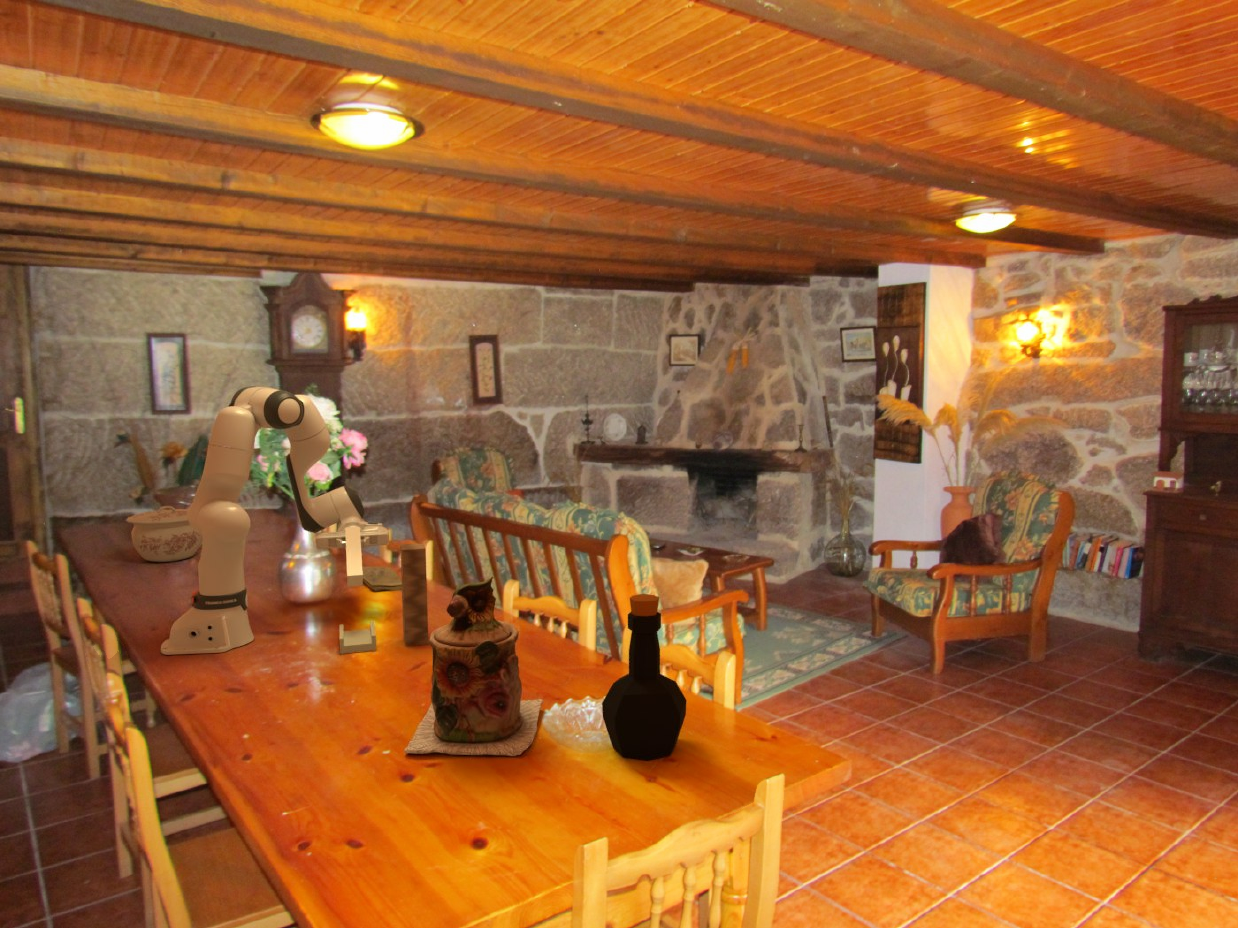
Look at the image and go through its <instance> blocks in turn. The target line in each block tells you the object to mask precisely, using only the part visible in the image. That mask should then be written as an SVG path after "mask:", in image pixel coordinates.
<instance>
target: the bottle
mask: <svg viewBox="0 0 1238 928" xmlns="http://www.w3.org/2000/svg"><path fill="white" fill-rule="evenodd" d="M659 602H660V596H657V595H655V594H649V593H648V594H647V593H639V594H635V595H634V594H633V595H632V596H630V597H629V603H630V604H629V606H630V611H629V613H628V614H627V629H628V630H629V631H631V634H630V641H629V648H628V673H627V674H625V675H624V676H621V677H619V678H618V679H617V680H615V682H613V683H612V684H611V686H610V688H609V690H608V691H607V694H606V695H605V697H604V699H603V700H602V702H601V705H602V706H601V707H602V719H603V722H604V725H605V728H606V731H607V733H608V737H609V739H610V742H611V745H612V748H613V749H614V750H615V752H616V753H618V755H620V756H621V757H622V758H627V759H633V760H639V761H645V762H649V761H653V760H659V759H662V758H666V757H669V756H671V755H672V753H673V752H674V749H675V748H676V746H677V743H678V739H679V736H680V733H681V730H682V728H683V724H684V721H685V717H686V715H687V699H686V697H685V695H684V694H683V692H682V690H681V688H680V687H679V685H678V683H677V681H675V680H674V679H672V678H670V677H667V676H666V675H664V674H661V649H660V648H661V647H660V641H659V635H658V632H659V631H660V629H661V628H662V613H661V612H658V611H659V610H658V609H659Z"/></svg>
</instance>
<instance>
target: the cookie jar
mask: <svg viewBox="0 0 1238 928" xmlns="http://www.w3.org/2000/svg"><path fill="white" fill-rule="evenodd" d="M493 579H494V577H493V576H489V577H488V579H486V580H484V581H478V582H470V583H469V582H468V583H465V584H463V585H460V586H459V587H458V588H456V589H455V591H453V593H452V596H451V600H450V602H449V603H448V606H447V607H446V612H447V614H449V616H450V617H451V618H453V619H452V620H451V621H450V622H448V623H447V624H445V625H442V626H440V627H438V628H436V629H433V631H432V632H431V634H430V637H429V638H428V642H429V644H428V645H429V646H430V647H431V650H432V674H431V678H430V679H431V680H430V681H431V691H430V703H431V704H430V705H429V708H428V710H427V713H426V714H425V715H424V716H423V719H421V721H420V723H419V724H417V725H418V726H417V727H416V731H415V732H414V734H413V738H412V739H410V740H409V742H408V745H407V747H405V748H404V753H405V754H415V755H417V754H418V755H419V754H421V755H423V754H431V753H441V754H449V755H460V756H461V755H463V756H464V755H465V756H508V757H517V756H520V755H521V754H522V753H523V752H525V751H526V750H527V749H528V748H529V747H530V746H531V745H532V744H533V741H534V739H535V737H536V733H537V731H538V725H537V724H538V720H539V714H540V712H541V710H542V706H543V704H544V700H543V699H542V698H537V699H529V700H528V699H524V700H522V699H521V698H522V693H523V686H522V681H521V678H520V667H519V656H518V655H517V653H516V643H517V641H518V640H519V634H520V633H519V632H520V631H519V630H518V627H516V626H515V625H514V624H512V623H510V622H506V621H501V620H499V619H498V620H497V619H496V618H495V613H494V611H495V607H496V600H497V598H496V597H495V596H494V588H493V587H492V582H493Z"/></svg>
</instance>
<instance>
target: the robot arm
mask: <svg viewBox="0 0 1238 928" xmlns="http://www.w3.org/2000/svg"><path fill="white" fill-rule="evenodd" d="M262 428H264V429H276V430H284V432H285V435H286V438H287V439H288V441H289V446H290V449H289V453H288V454H287V455H286V457H285V465H286V470H287V474H288V478H289V483H290V486H291V491H292V493H293V497H294V501H295V505H296V515H297V520H298V523H299V525H300V527H301V528H302V529H303V530H304V531H306V532H308V533H314V534H317V533H318V534H317V535H316V537H315V538H314V539H315V545H316V546H315V547H316V549H318V550H327V549H328V550H329V549H344V550H346V536H345V528H346V527H360V538H361V550H362V549H365V548H369V547H377V546H387V545H389V544H390V534H389V530H388V528H386V527H384V526H383V523H382V522H380V523H379V522H368V521H365V519H364V516H365V511H366V510H365V508H364V506H363V505H364V504H363V502H362V501H361V498H360V496H359V494H358V493H357V492H356V490H355V489H353V488H351V487H350V486H346V485H343V486H340V487H338V488H335V489H333V490H330V491H328V492H326V493H323V494H321V495H319V496H316V497H309V494H308V490H307V486H306V482H305V475H306V474H307V472H309V470H310V469H311V468H312V467H313V466H314V465H315V464H317V463H318V462H319V461H320V460H322V458H323V457H324V456H325V455H327V452H328V451H329V449H330V446H331V434H330V432H329V429H328V426H327V424H326V422H325V420H324V418H323V416H322V415H321V413H320V411H319V410H318V408H317V406H316V405H315V404H314V402H313V400H312V399H311V398H310V397H309V396H307V395H304V394H293V393H292V392H289V391H287V390H279V389H276V388H273V387H269V386H252V385H250V386H245V387H242V388H240V389H239V390H237V391H236V392H235V393H234V395H233V396H232V398H231V401H230V403H229V405H228V406H227V407H224V408H221V410H219V412H218V414H217V416H216V418H215V420H214V423H213V426H212V429H211V433H210V437H209V442H208V446H207V451H206V457H205V463H204V468H203V473H202V476H201V479H200V482H199V484H198V487H197V489H196V492H195V494H194V497H193V500H192V503H191V504H190V505H189V506H188V508H187V509H188V512H187V519H188V522H189V524H190V526H191V527H192V529H193V530H194V531H195V532H196V533H198V534H200V535H202V545H201V550H200V552H201V553H200V558H199V561H198V563H197V572H198V585H199V587H198V588H199V590H195V591H193V593H192V594H191V599H190V601H191V607H190V608H189V609H188V610H186V612H185V613H183V614H182V615H181V616H180V617H179V618H177V619H176V620H175V621H174V623H173V624H172V625H171V628H170V632H169V638H167V639H166V640H164V641H163V642H162V644H161V645H160V653H161V654H162V655H165V656H166V655H169V656H171V655H189V654H190V655H191V654H192V655H193V654H215V653H225V652H227V651H230V650H232V649H235V648H239V647H241V646H245V645H246V644H250V643H251V642H253V640H254V639H255V636H254V634H253V631H252V627H251V624H250V620H249V616H248V610H247V609H248V607H249V603H248V601H249V600H248V597H249V596H248V592H247V588H246V586H245V570H244V569H245V567H244V565H245V564H244V561H245V560H244V559H245V558H244V557H245V550H246V549H245V548H246V544H247V537H248V534H249V532H250V531H251V524H252V523H251V519H250V516H249V514H248V513H247V511H246V510H245V509H244V508H243V507H242V506H241V505H239V504H238V501H239V498H240V496H241V493H242V490H243V489H244V487H245V485H246V484H247V483H248V481H249V477H250V473H251V472H250V471H251V466H252V460H253V455H254V450H255V449H254V448H255V441H256V436H257V434H258V433H259V431H260V429H262ZM336 524H337V528H336V531H327V532H321V531H323V530H325V529H327V528H328V527H331V526H334V525H336ZM319 532H320V533H319Z"/></svg>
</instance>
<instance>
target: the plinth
mask: <svg viewBox="0 0 1238 928" xmlns="http://www.w3.org/2000/svg"><path fill="white" fill-rule="evenodd" d="M426 550H427V549H426V546H425V544H424V543H404V544H400V568H401V569H400V570H401V571H400V572H401V573H400V574H401V581H402V590H401V595H402V596H401V599H402V625H403V626H402V627H403V628H402V629H403V630H402V631H403V633H402V634H403V642H404V645H405V647H410V646H421V645H429V619H428V618H429V617H428V616H429V615H428V584H427V554H426V553H427V551H426Z"/></svg>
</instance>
